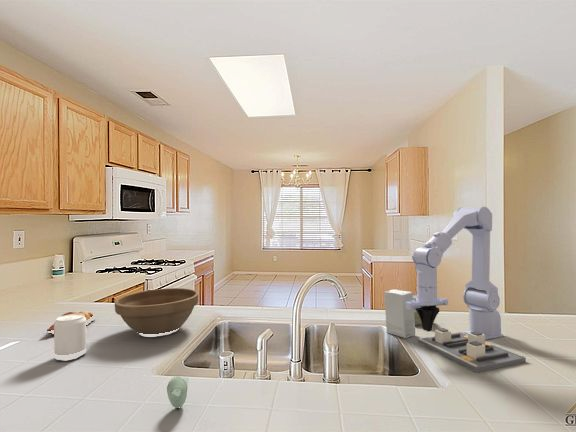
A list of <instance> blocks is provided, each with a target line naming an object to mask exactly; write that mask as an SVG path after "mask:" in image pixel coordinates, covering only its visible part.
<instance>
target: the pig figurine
mask: <svg viewBox="0 0 576 432" xmlns="http://www.w3.org/2000/svg"><path fill="white" fill-rule="evenodd" d="M188 389H189V377H183V376H180V375H179V376H178V375H177V376H174V377H172V378H171V379H170V380H169V381H168V383H167V387H166V393H167V398H168V400H169V402H170V403H169V404H171V406H172V407H173V408H174V407H175V408H179V407H181V408H182V407H183V405H184V404H185V402H186V399H187V395H188ZM175 408H174V409H175ZM179 409H180V408H179Z"/></svg>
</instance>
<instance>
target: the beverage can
mask: <svg viewBox="0 0 576 432" xmlns="http://www.w3.org/2000/svg"><path fill="white" fill-rule="evenodd" d="M60 316H61V317H60ZM60 316H58V317H57V318H55V319H56V320H55V322H54V323H55V324H54V323H53V325H54V335H53V336H54V337H53V338H54V347H53V349H54V352H53V353H55V354H57V355H69V354H74V353H77V352H80V351H82V350H84V349H85V348H86V347H88V345H87V343H88V342H87V339H88V338H87V337H88V334H87V332H88V331H87V329H88V328H87V327H88V326H86V318H85V315H84V314H69V315H64V316H62V315H60Z"/></svg>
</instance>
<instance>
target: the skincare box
mask: <svg viewBox="0 0 576 432" xmlns="http://www.w3.org/2000/svg"><path fill="white" fill-rule="evenodd" d="M383 294H384V307H385V308H384V310H385V326H386V333H388V334H390V335H393V336H397V337H400V338H403V339H407V338H410V337H414V336H416V325H415V319H414V309H412V310H410V309H407V308H406V302H408V301H412V300H413V295H414V293H413V291H405V290H401V289H396V288H394V289H390V290H386V291H384V293H383Z"/></svg>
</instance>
